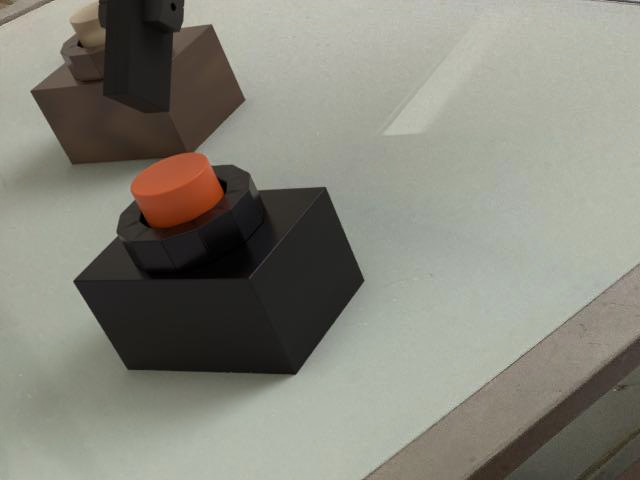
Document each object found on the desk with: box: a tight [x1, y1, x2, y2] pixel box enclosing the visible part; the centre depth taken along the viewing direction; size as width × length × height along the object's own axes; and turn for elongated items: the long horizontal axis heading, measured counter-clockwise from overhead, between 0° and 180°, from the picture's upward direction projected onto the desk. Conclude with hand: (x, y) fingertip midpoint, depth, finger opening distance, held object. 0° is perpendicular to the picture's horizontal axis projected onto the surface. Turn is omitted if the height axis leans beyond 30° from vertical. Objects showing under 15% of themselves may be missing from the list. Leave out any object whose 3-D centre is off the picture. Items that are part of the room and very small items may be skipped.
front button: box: [129, 151, 224, 228], centre depth 57 cm, size 4×4×2 cm
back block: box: [29, 23, 246, 165], centre depth 82 cm, size 11×8×8 cm
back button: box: [68, 0, 106, 48], centre depth 79 cm, size 4×4×2 cm
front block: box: [72, 163, 365, 376], centre depth 59 cm, size 11×8×8 cm
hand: (136, 103), depth 54 cm, fingers closed
